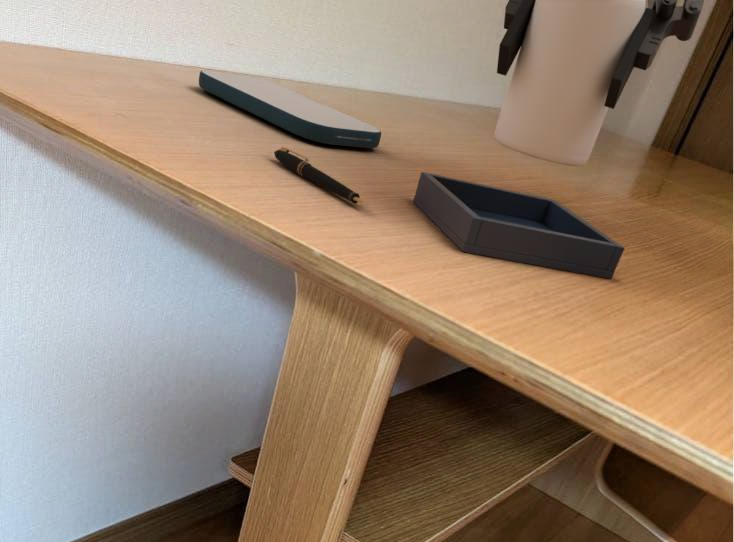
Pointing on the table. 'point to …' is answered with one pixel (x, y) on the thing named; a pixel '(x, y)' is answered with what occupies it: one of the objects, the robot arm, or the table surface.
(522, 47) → the pill bottle
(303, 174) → the fountain pen
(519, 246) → the tray
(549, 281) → the table surface
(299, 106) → the external hard drive
